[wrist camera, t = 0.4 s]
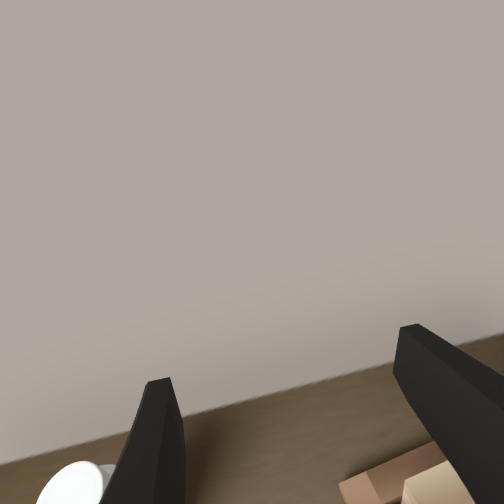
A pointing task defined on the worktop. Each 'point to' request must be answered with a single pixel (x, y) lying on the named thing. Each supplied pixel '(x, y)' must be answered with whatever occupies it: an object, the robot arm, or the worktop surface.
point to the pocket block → (390, 477)
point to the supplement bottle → (77, 484)
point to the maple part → (436, 487)
